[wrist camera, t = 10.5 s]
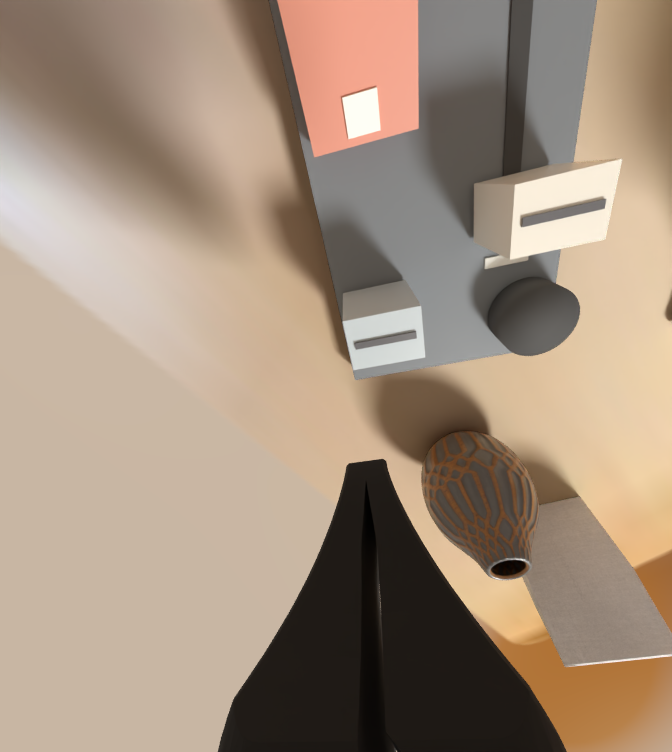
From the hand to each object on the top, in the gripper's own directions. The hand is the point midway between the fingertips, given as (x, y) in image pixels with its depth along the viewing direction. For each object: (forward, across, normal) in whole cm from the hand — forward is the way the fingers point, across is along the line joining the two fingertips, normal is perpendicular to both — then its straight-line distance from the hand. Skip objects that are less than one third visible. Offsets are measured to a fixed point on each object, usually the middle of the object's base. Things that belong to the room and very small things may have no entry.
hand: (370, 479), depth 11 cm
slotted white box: (+8, -2, -3) cm, 9 cm away
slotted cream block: (+8, -8, -7) cm, 13 cm away
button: (+8, -9, -2) cm, 12 cm away
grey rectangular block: (+10, -13, +20) cm, 26 cm away
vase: (+10, -6, +10) cm, 15 cm away
